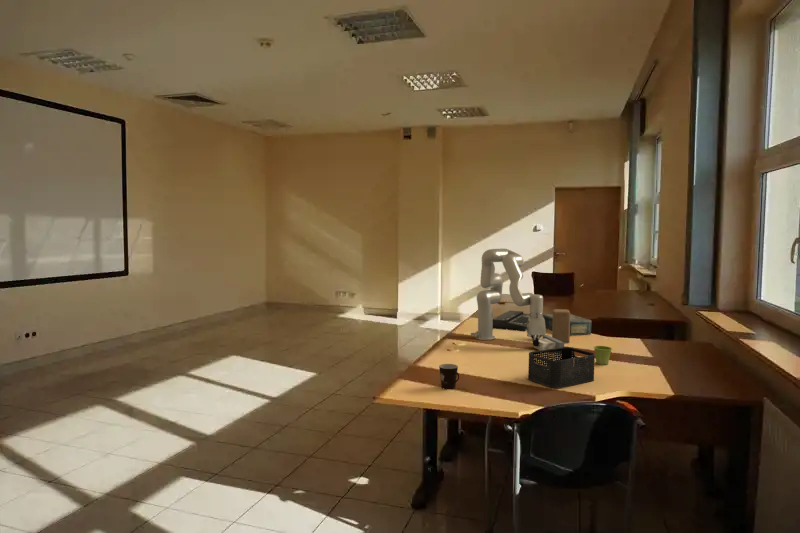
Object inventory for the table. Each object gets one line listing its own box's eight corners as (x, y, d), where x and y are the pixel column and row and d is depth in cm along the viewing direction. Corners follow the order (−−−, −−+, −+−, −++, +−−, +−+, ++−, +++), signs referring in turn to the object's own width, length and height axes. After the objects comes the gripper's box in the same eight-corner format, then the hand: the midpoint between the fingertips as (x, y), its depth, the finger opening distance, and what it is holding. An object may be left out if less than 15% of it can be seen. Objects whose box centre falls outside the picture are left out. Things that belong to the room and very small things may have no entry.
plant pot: (612, 362, 294) (612, 346, 294) (611, 366, 286) (611, 350, 285) (593, 360, 298) (594, 345, 298) (592, 364, 290) (592, 348, 289)
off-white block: (542, 351, 318) (543, 343, 318) (533, 347, 330) (534, 339, 330) (555, 351, 320) (555, 342, 319) (546, 346, 332) (546, 338, 331)
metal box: (563, 336, 361) (564, 321, 360) (541, 327, 392) (541, 313, 392) (592, 335, 365) (593, 320, 364) (568, 326, 397) (568, 312, 396)
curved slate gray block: (559, 353, 315) (559, 342, 315) (542, 344, 337) (542, 335, 336) (564, 352, 316) (564, 342, 315) (546, 344, 337) (546, 334, 337)
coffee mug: (437, 384, 255) (437, 364, 254) (455, 384, 256) (455, 363, 255) (441, 392, 244) (441, 370, 243) (460, 392, 244) (460, 370, 243)
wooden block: (569, 343, 340) (570, 311, 338) (553, 342, 342) (553, 311, 340) (568, 339, 350) (568, 309, 348) (551, 339, 352) (552, 308, 350)
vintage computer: (527, 331, 376) (527, 320, 375) (487, 328, 389) (487, 317, 389) (542, 322, 413) (542, 312, 413) (505, 320, 427) (505, 310, 426)
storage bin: (566, 371, 278) (567, 345, 277) (597, 380, 262) (598, 353, 260) (524, 379, 264) (525, 352, 263) (554, 390, 247) (555, 361, 246)
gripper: (526, 317, 317) (526, 347, 318) (550, 316, 319) (550, 346, 321) (521, 314, 324) (521, 345, 326) (545, 314, 326) (544, 344, 328)
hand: (535, 345), depth 323 cm, fingers closed
